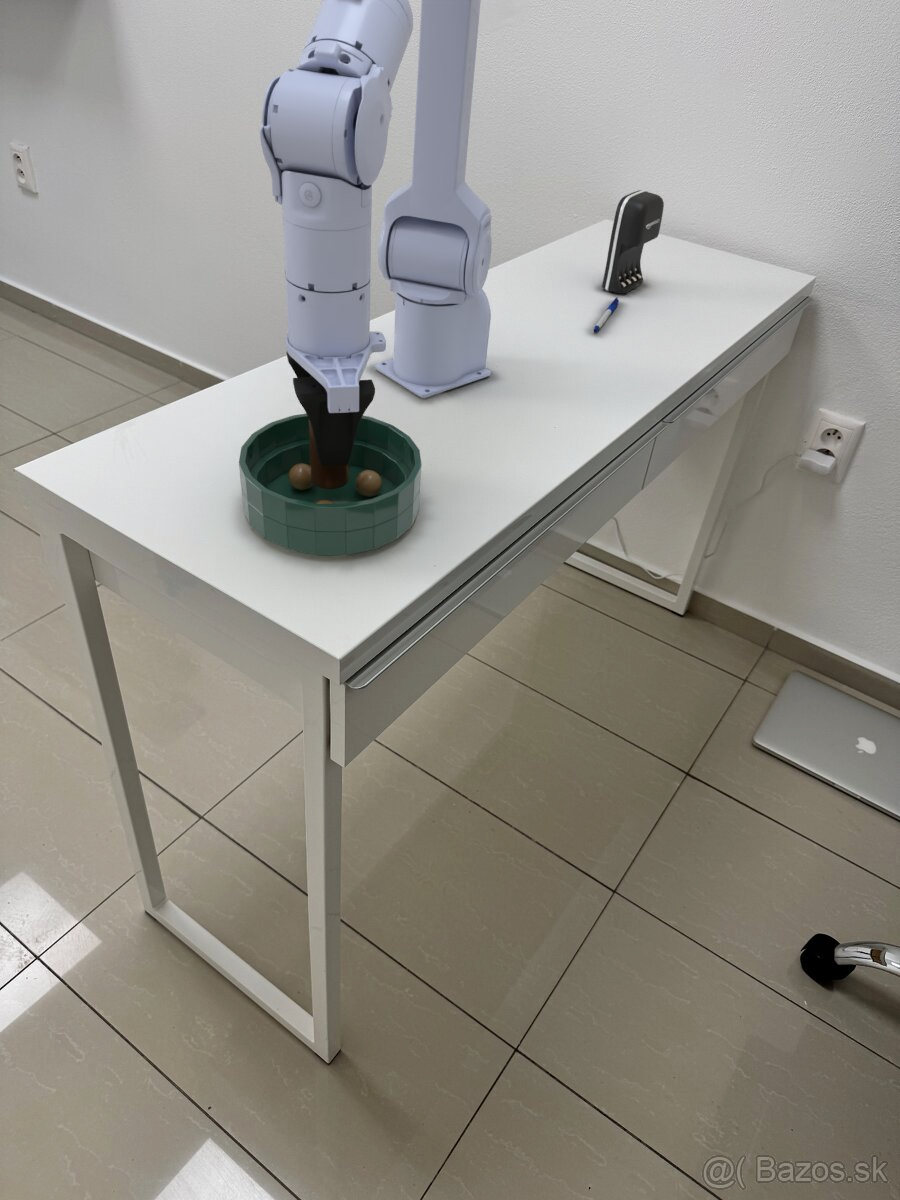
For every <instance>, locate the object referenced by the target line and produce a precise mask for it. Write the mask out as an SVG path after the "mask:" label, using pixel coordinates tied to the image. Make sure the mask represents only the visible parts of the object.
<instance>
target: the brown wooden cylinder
mask: <svg viewBox="0 0 900 1200" xmlns="http://www.w3.org/2000/svg"><path fill="white" fill-rule="evenodd" d="M310 377H313V376H310ZM309 441H310V470H311V481H312V483H313V484H314V485H315V486H317V487H319V488H322V489H338V488H341V487H343V486H345V485H346V484H347V483H348V481H349V462H348V464H347V465H336V466H321V464H320V461H319V458H318V455H317V451H316V446H315V442H314V436H313V431H312V426H311V423H310V421H309Z"/></svg>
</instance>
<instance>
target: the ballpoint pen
mask: <svg viewBox="0 0 900 1200" xmlns="http://www.w3.org/2000/svg"><path fill="white" fill-rule="evenodd" d="M619 302H620V300H619V298H618V297H615V298H614V300H612V301H611V303H610V304H609V306H608V307H607V308H606V310H605V311H604V313H603V314H602V315H601V318H600V319H599V320H598V321H597V323H596V324H595V326H594V328H593V332H594V333H596V332H599V331H600V329H601V328H602V327H603V325H604V324H605V322H606V321H607V319H608V318H609V317H610V315H612V313H613V312H614V310H615V309H616V307H617V306H618V305H619Z"/></svg>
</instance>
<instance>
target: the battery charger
mask: <svg viewBox="0 0 900 1200" xmlns="http://www.w3.org/2000/svg"><path fill="white" fill-rule="evenodd" d="M664 206H665V203H664V199H663V198H662V196H661V195H659V194H657V193H652V192H650V191H648V190H645V189H642V190H641V189H640V190H639V189H638V190H636V191H633V192H631V193H628V194H626V195H624V196H623V197H622V198H621V199H620V200H619V202H618V203H617V207H616V209H615V215H614V220H613V224H612V229H611V233H610V234H611V235H610V240H609V244H608V245H609V246H608V250H607V257H606V264H605V269H604V274H603V279H602V284H601V288H602V289H604V290H605V291H607V292H612V293H617V294H626V293H629V292H630V291H632V290H634V289H635V288H637V287H639V286H641V285H642V284H643V282H644V278H643V273H642V268H641V259H642V254H643V250H644V246H645V244H647V243H649V242H651V241H653V240H655V239H657V238H658V236H659V234H660V230H661V225H662V219H663V214H664Z"/></svg>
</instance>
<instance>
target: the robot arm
mask: <svg viewBox="0 0 900 1200" xmlns="http://www.w3.org/2000/svg"><path fill="white" fill-rule="evenodd" d="M481 2H482V0H421V6H420V21H419V22H420V24H419V25H420V26H419V41H418V42H419V44H418V61H417V80H416V99H415V101H416V102H415V115H414V116H415V117H414V132H413V133H414V134H413V135H414V136H413V152H412V153H413V155H412V173H411V174H412V175H411V180H410V181H408V182H407V183H406V184H405V185H403V186H401V187H400V188H398V189H396V191H394V192H393V193H392V194H391V195H390V197H389V198H388V199H387V200H386V203H385V205H384V207H383V215H382V216H383V218H382V226H381V229H380V233H379V237H378V245H377V264H378V269H379V271H380V272H381V274H382V277H383V278H384V280H386V281H389V282H390V283H389V290H390V292H394V293H395V305H394V308H395V309H394V333H393V334H394V335H393V358H390V359H388V360H385V361H381V362H377V363H376V364H375V370H376V371H378V372H380V373H381V374H382V375H385V376H386V377H387V378H389V379H391V380H392V381H394V382H395V383H396V384H399V385H400V386H402V387H403V388H405V389H407V390H408V391H410V392H412V393H413V394H414V395H416V396H417V397H419V398H421V399H426V398H429V397H432V396H435V395H438V394H440V393H444V392H447V391H450V390H452V389H456V388H458V387H462V386H465V385H467V384H470V383H472V382H476V381H479V380H481V379H484V378H488V377H490V376H491V370H490V369H489V368H486V366H487V356H488V347H489V346H488V345H489V339H490V338H489V337H490V329H491V319H492V312H491V305H490V302H489V298H488V296H487V293H486V292H485V290H484V289H483V288H484V286H485V283H486V280H487V277H488V273H489V270H490V264H491V257H492V244H493V243H492V242H493V241H492V235H491V233H492V231H491V230H492V214H491V209H490V207H489V206H488V204H486V202H485V201H484V200H483V199H482V198H481V197H479V195H478V194H477V193H476V192H475V191H474V190H473V189H472V188H471V187H470V186H469V185H468V183H467V182H466V170H467V159H468V150H469V149H468V148H469V138H470V127H471V125H470V124H471V114H472V103H473V92H474V91H473V90H474V80H475V79H474V78H475V70H476V69H475V67H476V59H477V47H478V46H477V45H478V37H479V35H478V34H479V24H480V12H481ZM413 30H414V14H413V10H412V7H411V4H410V2H409V0H322V1H321V3H320V5H319V9H318V11H317V13H316V16H315V18H314V21H313V23H312V26H311V29H310V31H309V34H308V36H307V39H306V41H305V44H304V46H303V49H302V51H301V52H300V53H301V54H300V56H299V59H298V61H297V63H296V66H295V68H288V70H285V71H284V72H283V73H282V74H281V75H277V76H275V77H274V78H273V79H272V80H271V81H270V82H269V84H268V86H267V88H266V91H265V94H264V97H263V103H262V109H261V125H260V127H259V138H260V139H259V140H260V145H261V150H262V154H263V157H264V160H265V162H266V165H267V166H268V168H269V172H270V177H271V189H272V190H271V191H272V196H274V201H275V202H276V203H278V204H279V205H280V206H281V213H282V214H281V215H282V235H283V254H284V255H283V257H284V259H283V260H284V276H285V296H286V316H287V317H286V318H287V334H286V336H285V350H286V359H287V362H288V364H289V366H290V368H291V369H292V370H293V373H294V374H295V376H296V377H293V378H292V384H293V389H294V393H295V396H296V398H297V400H298V402H299V404H300V406H301V407H302V408H303V411H304V412H305V414H306V413H307V416H308V418H309V421H310V423H311V426H312V431H313V436H314V442H315V446H316V451H317V455H318V458H319V461H320V464H321V466H336V465H347V464H348V462H349V459H350V456H351V452H352V448H353V444H354V440H355V436H356V432H357V429H358V426H359V423H360V420H361V418H362V416H364V414H365V412H366V411H367V409H368V408H369V406H370V405H371V403H372V402H373V401H374V398H375V394H376V387H375V384H374V382H373V379H362V376H363V374H364V371H365V369H366V367H367V364H368V362H369V359H370V358H371V355H372V354H373V353H381V352H385V351H386V350H387V339H386V337H385V335H384V333H382V332H381V331H371V330H370V327H371V260H372V258H371V257H372V256H371V254H372V252H371V251H372V203H373V202H372V201H373V198H372V197H373V184H374V183H375V182H376V180H377V179H378V177H379V175H380V173H381V169H382V168H383V165H384V163H385V162H384V161H385V157H386V151H387V145H388V137H389V135H388V134H389V128H390V122H391V119H392V112H393V102H392V98H391V97H392V96H391V91H392V88H393V85H394V83H395V80H396V77H397V75H398V71H399V69H400V66H401V63H402V60H403V57H404V56H405V53H406V49H407V47H408V44H409V42H410V39H411V37H412V33H413ZM310 376H313V377H310Z"/></svg>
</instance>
